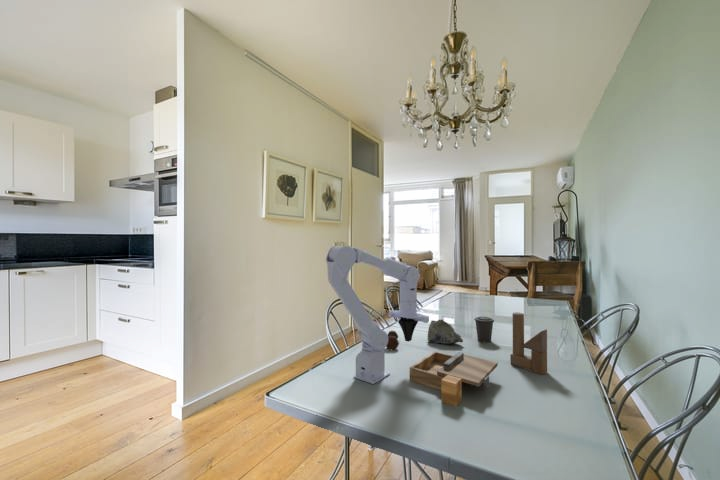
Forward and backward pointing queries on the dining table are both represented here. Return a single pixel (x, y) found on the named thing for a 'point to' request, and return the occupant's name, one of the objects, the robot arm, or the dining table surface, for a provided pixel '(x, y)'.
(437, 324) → the mineral rock
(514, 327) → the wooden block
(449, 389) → the brown block
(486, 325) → the coffee cup
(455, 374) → the lid
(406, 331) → the robot arm
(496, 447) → the dining table surface
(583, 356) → the dining table surface
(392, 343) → the bolt
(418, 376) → the brown wooden open box
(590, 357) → the dining table surface
